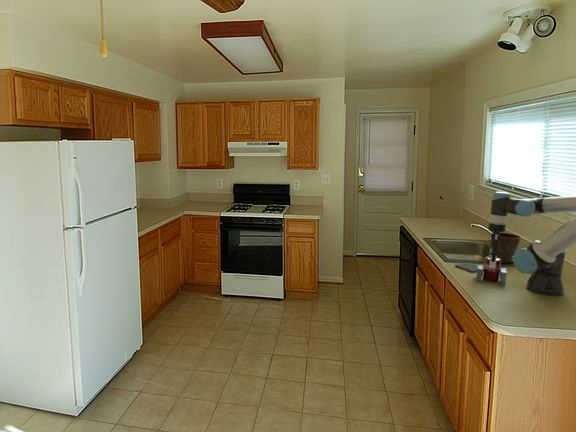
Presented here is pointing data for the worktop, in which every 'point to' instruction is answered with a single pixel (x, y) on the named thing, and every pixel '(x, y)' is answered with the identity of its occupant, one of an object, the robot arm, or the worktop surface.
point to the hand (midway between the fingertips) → (491, 264)
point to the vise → (502, 274)
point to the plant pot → (507, 246)
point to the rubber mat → (468, 267)
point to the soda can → (491, 271)
